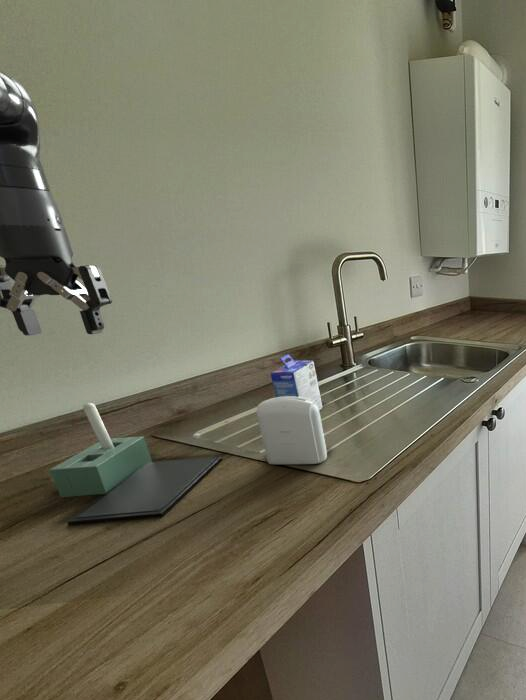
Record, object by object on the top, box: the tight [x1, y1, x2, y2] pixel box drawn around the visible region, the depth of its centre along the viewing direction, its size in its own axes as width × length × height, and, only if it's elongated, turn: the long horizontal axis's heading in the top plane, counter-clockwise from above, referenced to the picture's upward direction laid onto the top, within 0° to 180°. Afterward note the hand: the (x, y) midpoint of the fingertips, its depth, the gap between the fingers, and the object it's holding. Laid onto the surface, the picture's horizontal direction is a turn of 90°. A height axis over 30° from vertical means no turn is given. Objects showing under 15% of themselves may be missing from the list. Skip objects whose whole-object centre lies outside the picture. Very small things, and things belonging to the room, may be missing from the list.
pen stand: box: [49, 435, 153, 498], centre depth 69 cm, size 6×11×5 cm, turn 9°
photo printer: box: [256, 396, 328, 465], centre depth 73 cm, size 10×4×12 cm, turn 90°
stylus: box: [82, 402, 114, 449], centre depth 69 cm, size 1×1×13 cm
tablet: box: [66, 456, 223, 526], centre depth 66 cm, size 12×17×1 cm
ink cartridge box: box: [270, 353, 323, 411], centre depth 92 cm, size 10×6×14 cm, turn 2°
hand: (64, 334), depth 64 cm, fingers open, 8 cm apart
